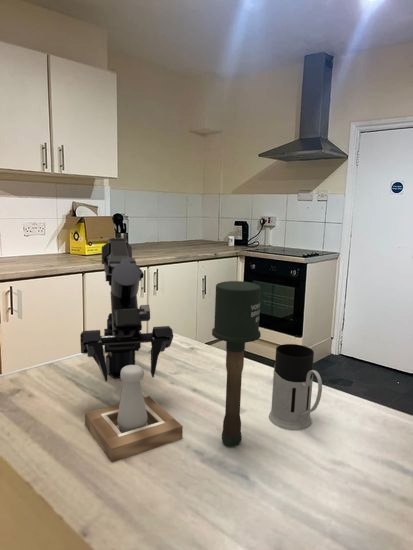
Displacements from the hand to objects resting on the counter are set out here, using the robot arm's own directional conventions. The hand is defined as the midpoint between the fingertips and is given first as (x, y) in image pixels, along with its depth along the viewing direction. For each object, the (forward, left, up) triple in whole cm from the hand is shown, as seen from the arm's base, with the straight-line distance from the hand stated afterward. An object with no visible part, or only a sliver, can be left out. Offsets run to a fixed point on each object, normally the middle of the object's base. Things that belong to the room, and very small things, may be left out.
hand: (130, 378), depth 84 cm
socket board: (+1, +4, -9) cm, 10 cm away
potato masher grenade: (-13, +17, -9) cm, 23 cm away
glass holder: (-28, +19, -9) cm, 35 cm away
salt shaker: (+1, +4, -9) cm, 10 cm away
